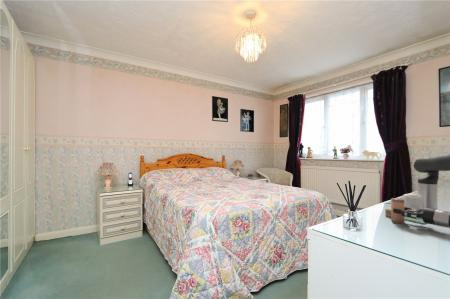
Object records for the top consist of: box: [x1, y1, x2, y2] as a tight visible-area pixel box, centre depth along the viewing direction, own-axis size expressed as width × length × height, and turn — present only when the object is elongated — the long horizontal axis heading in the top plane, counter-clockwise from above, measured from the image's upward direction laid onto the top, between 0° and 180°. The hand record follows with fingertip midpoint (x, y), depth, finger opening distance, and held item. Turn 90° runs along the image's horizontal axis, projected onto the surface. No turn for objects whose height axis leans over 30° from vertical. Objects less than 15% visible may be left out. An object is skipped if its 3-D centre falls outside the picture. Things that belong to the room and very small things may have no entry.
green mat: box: [405, 217, 427, 225], centre depth 119 cm, size 10×10×1 cm
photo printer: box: [401, 193, 423, 214], centre depth 131 cm, size 10×4×12 cm, turn 84°
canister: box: [390, 197, 406, 225], centre depth 117 cm, size 6×6×12 cm
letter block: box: [385, 208, 391, 218], centre depth 126 cm, size 4×4×4 cm
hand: (397, 209), depth 117 cm, fingers open, 8 cm apart
